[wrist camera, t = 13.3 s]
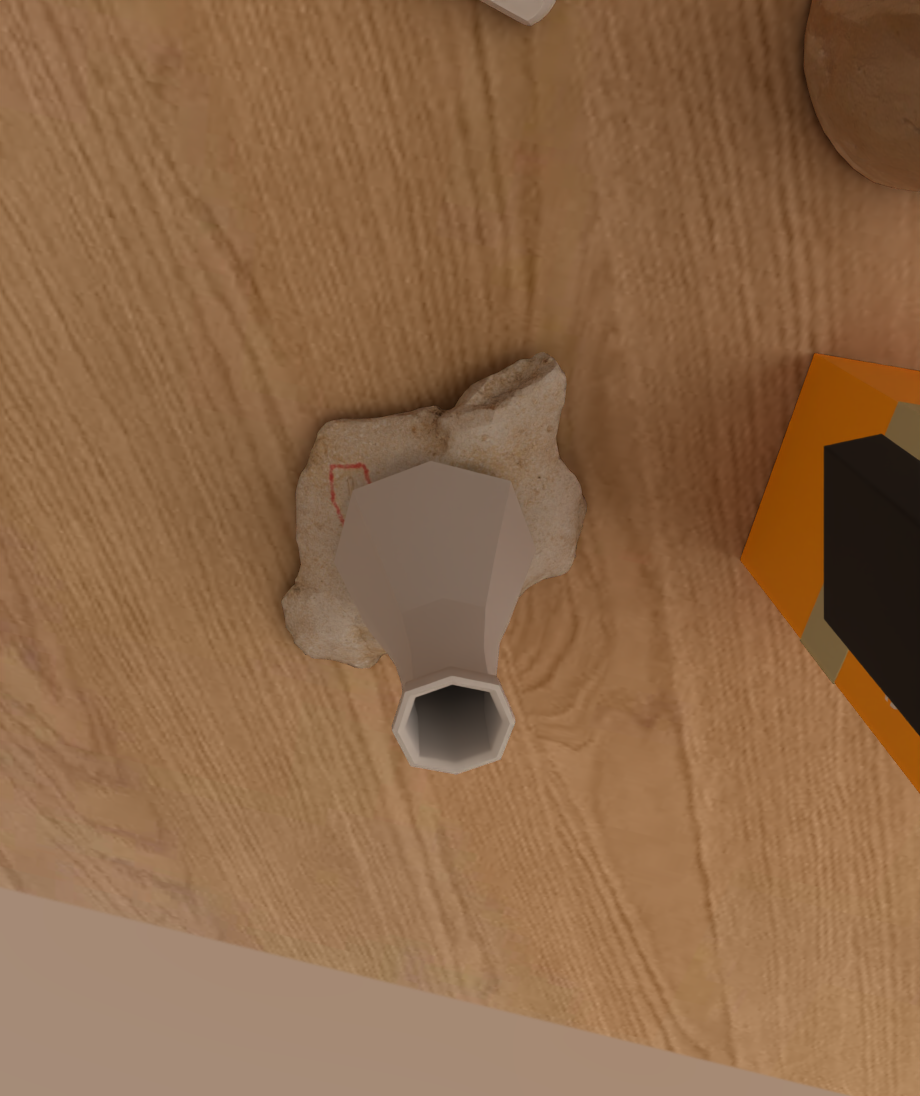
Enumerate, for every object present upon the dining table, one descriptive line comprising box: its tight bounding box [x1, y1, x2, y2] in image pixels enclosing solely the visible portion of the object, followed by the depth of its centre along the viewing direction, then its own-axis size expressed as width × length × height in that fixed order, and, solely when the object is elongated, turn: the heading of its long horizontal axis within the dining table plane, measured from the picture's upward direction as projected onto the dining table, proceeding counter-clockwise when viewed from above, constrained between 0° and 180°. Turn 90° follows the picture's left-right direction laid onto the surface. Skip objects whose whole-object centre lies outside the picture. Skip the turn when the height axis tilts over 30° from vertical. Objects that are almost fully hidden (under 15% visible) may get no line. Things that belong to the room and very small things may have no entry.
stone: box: [281, 352, 587, 668], centre depth 33 cm, size 13×11×3 cm
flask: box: [334, 461, 536, 774], centre depth 27 cm, size 7×7×10 cm
